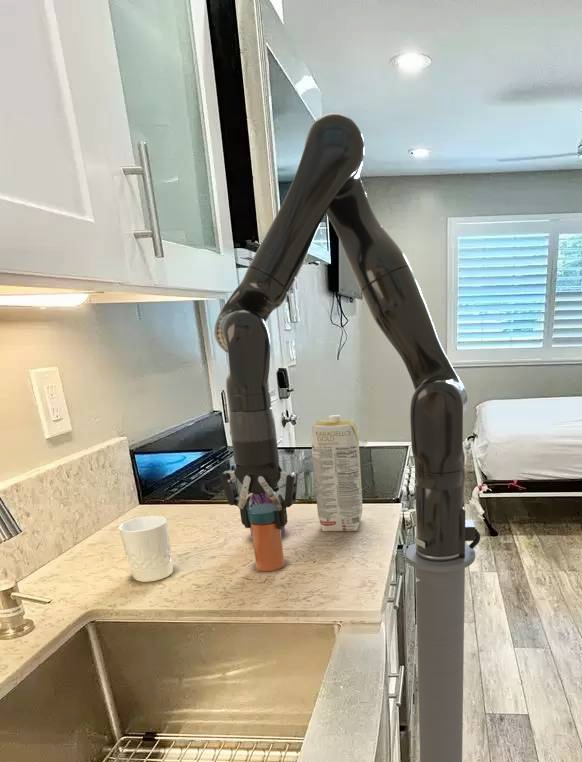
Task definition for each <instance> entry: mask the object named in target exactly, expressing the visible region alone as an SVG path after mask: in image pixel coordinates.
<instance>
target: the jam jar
mask: <svg viewBox="0 0 582 762" xmlns="http://www.w3.org/2000/svg"><path fill="white" fill-rule="evenodd" d="M250 526H251V531H250V534H251V533H252V536H251V540H252V547H253V553H254V559H255V566H256V567H255V568H256V569H257V570H258V571H260V572H274V571H277V570H280V569H282V568H283V567H285V565H286V563H285V555H284V546H283V537H282V535H281V529H277V523H276V521H274V522H271V523H265V524H255V523H251V522H250Z"/></svg>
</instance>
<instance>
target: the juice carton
mask: <svg viewBox="0 0 582 762" xmlns="http://www.w3.org/2000/svg"><path fill="white" fill-rule="evenodd" d="M355 421H356V420H354V419H344V420H342V416H341V415H340V414H335V415H328V420H317V421H316V422H315V424H314V425H313V426H312V428H311V429H312V431H311V453H312V466H313V474H314V475H313V476H314V488H315V497H316V507H317V516H318V521H319V524H320V528H321V530H322V531H323V532H355V531H356V532H357V531H358V529H359V526H360V522H361V520H362V519H361V518H362V514H363V488H362V473H361V456H360V455H361V454H360V442H359V439H360V438H359V433H358V430H357V426H356V422H355Z"/></svg>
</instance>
